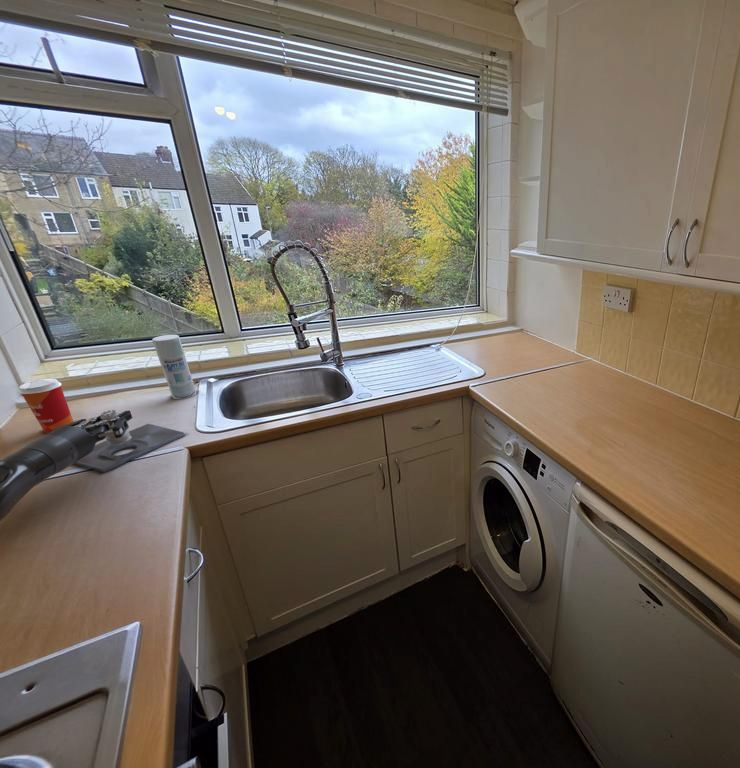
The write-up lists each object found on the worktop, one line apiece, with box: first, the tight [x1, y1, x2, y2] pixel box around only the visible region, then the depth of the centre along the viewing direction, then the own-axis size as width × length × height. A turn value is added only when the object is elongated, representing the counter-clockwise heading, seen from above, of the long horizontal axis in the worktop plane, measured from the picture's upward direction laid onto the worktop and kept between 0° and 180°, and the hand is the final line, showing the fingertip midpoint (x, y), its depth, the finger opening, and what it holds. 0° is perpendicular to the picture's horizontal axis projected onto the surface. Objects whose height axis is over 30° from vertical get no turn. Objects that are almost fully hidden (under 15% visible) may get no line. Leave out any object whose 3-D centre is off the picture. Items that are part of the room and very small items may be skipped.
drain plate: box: [74, 423, 185, 474], centre depth 103 cm, size 18×14×2 cm
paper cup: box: [18, 378, 75, 434], centre depth 108 cm, size 8×8×14 cm
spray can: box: [151, 334, 197, 400], centre depth 128 cm, size 6×6×20 cm
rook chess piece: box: [100, 409, 132, 446], centre depth 97 cm, size 4×4×8 cm
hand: (120, 414), depth 99 cm, fingers closed on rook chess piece, 3 cm apart
